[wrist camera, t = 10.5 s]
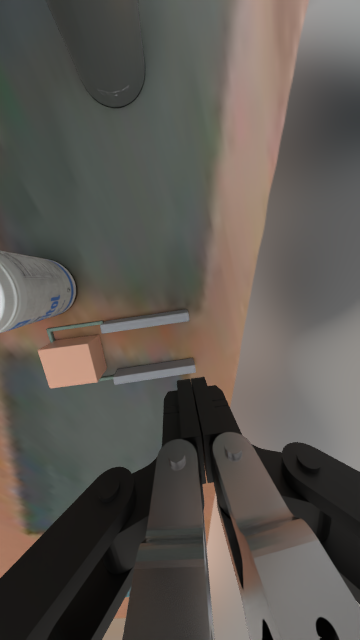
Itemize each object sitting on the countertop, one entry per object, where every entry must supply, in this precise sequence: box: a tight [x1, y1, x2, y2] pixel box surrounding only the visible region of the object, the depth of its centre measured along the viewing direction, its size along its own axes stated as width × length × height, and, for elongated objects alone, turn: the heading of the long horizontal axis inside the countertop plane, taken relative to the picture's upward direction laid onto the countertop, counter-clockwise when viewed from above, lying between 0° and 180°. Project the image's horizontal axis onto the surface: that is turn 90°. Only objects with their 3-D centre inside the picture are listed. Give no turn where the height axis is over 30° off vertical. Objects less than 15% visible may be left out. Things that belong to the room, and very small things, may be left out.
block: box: [38, 335, 107, 388], centre depth 32 cm, size 7×8×5 cm
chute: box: [100, 309, 196, 385], centre depth 33 cm, size 11×15×3 cm
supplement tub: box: [0, 251, 76, 333], centre depth 24 cm, size 10×10×15 cm
